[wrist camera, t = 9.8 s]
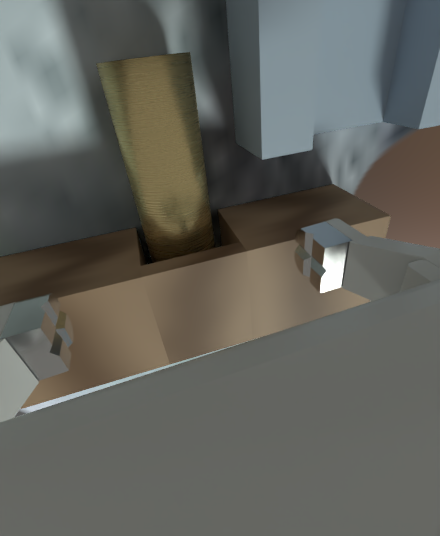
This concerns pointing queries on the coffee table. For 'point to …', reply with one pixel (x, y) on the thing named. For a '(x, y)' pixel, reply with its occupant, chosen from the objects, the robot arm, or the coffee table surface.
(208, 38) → the coffee table surface
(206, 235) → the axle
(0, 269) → the beam
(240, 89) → the cradle
